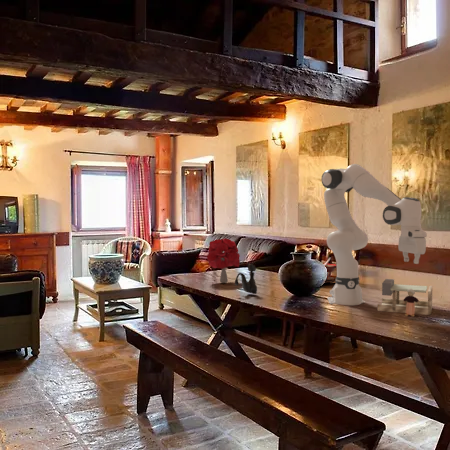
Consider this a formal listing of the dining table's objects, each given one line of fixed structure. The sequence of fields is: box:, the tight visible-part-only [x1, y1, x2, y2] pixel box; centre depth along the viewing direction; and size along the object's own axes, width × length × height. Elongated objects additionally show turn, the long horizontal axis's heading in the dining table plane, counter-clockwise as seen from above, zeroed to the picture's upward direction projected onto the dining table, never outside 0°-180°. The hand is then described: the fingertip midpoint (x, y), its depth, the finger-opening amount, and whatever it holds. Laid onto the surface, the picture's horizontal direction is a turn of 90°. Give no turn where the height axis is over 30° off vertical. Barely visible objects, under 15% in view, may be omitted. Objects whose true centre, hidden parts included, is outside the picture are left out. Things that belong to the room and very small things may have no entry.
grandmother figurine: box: [402, 289, 420, 318], centre depth 226 cm, size 8×4×13 cm, turn 70°
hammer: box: [381, 278, 428, 296], centre depth 240 cm, size 20×14×6 cm
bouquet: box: [206, 237, 241, 284], centre depth 333 cm, size 22×24×30 cm
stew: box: [323, 256, 337, 284], centre depth 328 cm, size 28×24×16 cm
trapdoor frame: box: [377, 285, 433, 316], centre depth 240 cm, size 24×18×11 cm
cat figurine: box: [234, 262, 258, 295], centre depth 287 cm, size 10×14×18 cm
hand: (411, 262), depth 225 cm, fingers open, 8 cm apart
